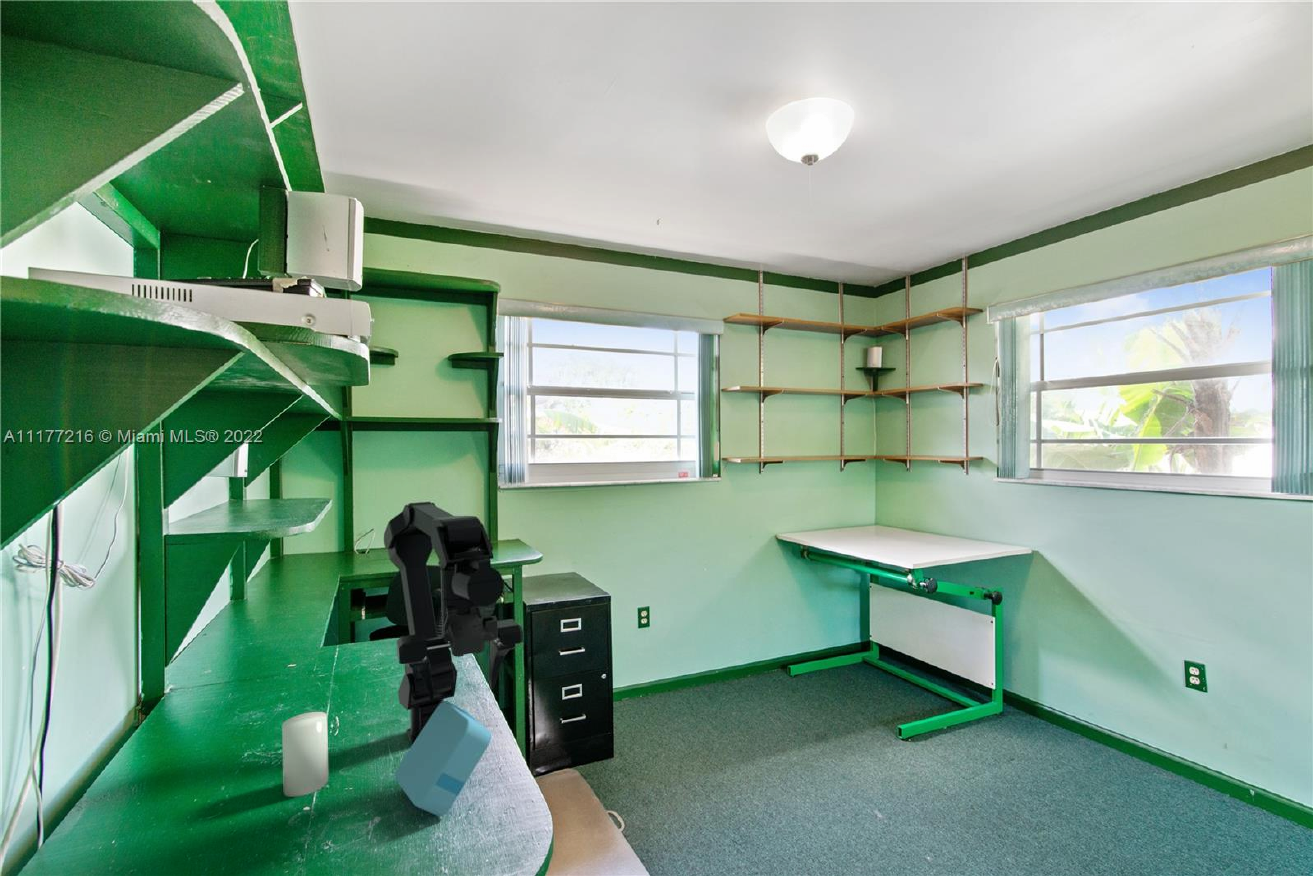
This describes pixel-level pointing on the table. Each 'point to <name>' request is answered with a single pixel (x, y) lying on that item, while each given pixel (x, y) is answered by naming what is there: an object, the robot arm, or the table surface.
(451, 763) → the light blue rounded block
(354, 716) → the table surface
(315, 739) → the white rounded cylinder
